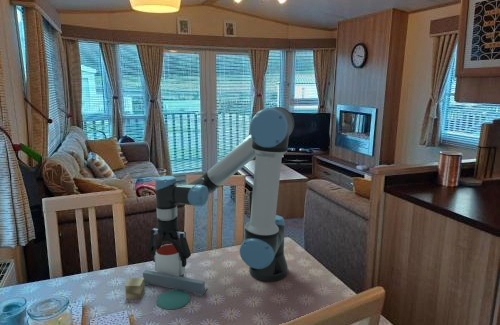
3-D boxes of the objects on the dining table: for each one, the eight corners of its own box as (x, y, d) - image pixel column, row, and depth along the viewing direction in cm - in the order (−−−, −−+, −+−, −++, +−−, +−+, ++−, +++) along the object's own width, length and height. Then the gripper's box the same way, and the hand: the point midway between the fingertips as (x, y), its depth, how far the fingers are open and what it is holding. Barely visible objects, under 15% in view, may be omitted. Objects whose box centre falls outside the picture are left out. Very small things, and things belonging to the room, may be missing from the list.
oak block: (144, 290, 123) (144, 277, 122) (140, 299, 118) (140, 285, 117) (130, 291, 122) (129, 278, 121) (126, 299, 117) (125, 286, 116)
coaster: (195, 293, 121) (195, 292, 121) (179, 312, 111) (179, 311, 110) (167, 288, 124) (167, 287, 124) (150, 305, 114) (150, 304, 114)
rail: (207, 289, 124) (207, 278, 123) (201, 296, 119) (200, 286, 118) (148, 277, 131) (147, 268, 130) (140, 284, 126) (139, 274, 125)
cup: (177, 281, 128) (175, 256, 126) (152, 278, 130) (150, 254, 128) (187, 268, 137) (186, 245, 136) (163, 266, 139) (162, 242, 137)
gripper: (199, 217, 129) (200, 271, 134) (147, 210, 136) (150, 262, 140) (189, 224, 122) (192, 281, 127) (135, 217, 129) (139, 271, 133)
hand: (170, 271), depth 133 cm, fingers closed on cup, 10 cm apart
